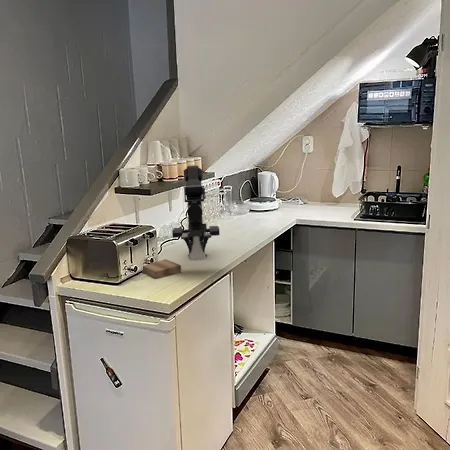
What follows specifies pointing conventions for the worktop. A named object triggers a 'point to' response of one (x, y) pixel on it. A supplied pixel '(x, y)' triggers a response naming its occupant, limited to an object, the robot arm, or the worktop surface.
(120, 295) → the worktop surface
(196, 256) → the flask
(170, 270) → the walnut plinth
